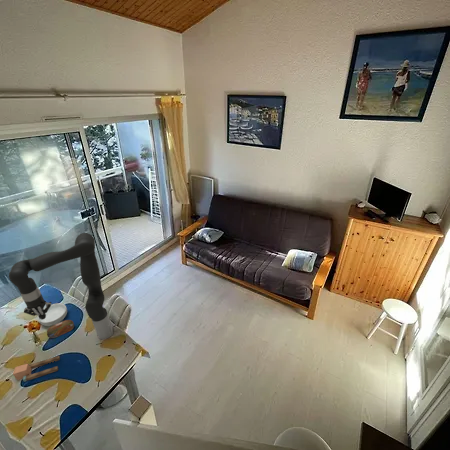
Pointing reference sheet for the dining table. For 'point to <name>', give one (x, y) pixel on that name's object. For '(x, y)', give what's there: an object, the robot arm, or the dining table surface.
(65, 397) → the dining table surface
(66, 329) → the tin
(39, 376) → the pair of brown rods
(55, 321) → the cereal bowl
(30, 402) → the dining table surface
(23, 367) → the block
